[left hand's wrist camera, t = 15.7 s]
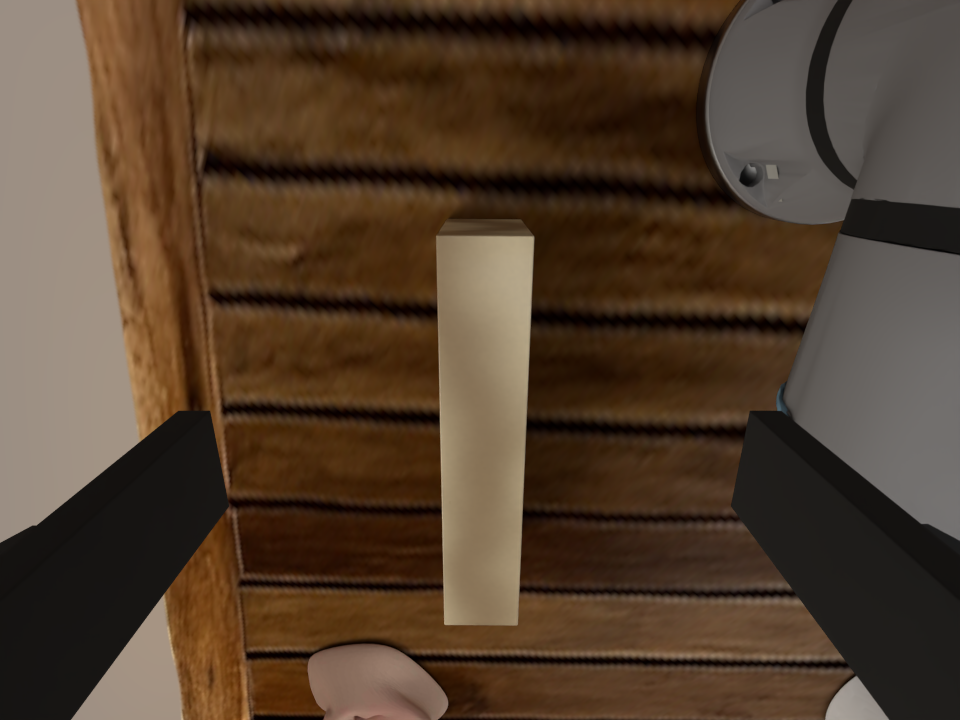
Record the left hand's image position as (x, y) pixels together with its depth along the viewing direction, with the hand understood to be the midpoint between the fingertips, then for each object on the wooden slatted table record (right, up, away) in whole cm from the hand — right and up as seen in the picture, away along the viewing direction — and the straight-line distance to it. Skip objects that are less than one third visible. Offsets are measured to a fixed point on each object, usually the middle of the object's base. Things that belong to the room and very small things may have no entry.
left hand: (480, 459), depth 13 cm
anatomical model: (-10, -29, +37) cm, 48 cm away
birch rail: (0, 0, +26) cm, 26 cm away
